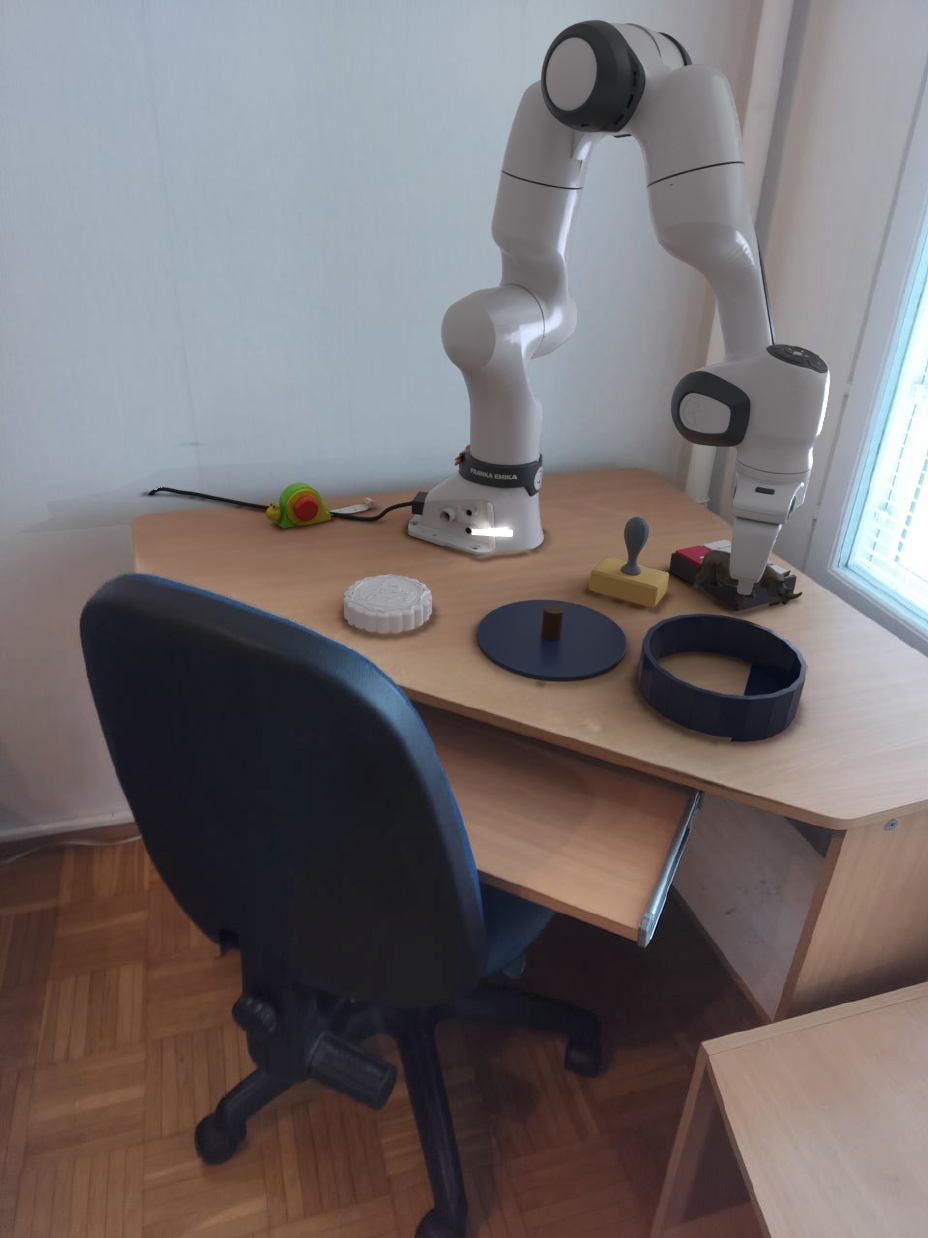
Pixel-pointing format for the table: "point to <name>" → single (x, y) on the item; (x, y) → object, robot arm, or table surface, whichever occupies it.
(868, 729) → the table surface
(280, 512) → the toy measuring tape
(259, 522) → the table surface
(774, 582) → the rhino figurine
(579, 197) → the robot arm
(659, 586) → the rubber stamp
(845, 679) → the table surface
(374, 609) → the mooncake
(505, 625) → the pan lid
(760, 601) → the calculator
